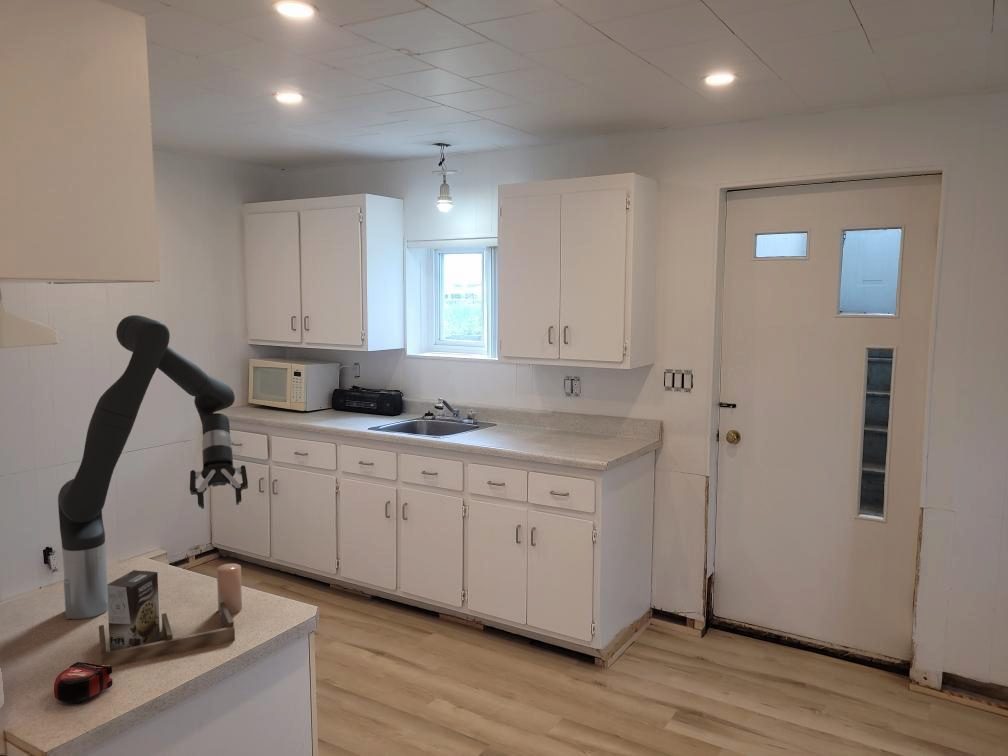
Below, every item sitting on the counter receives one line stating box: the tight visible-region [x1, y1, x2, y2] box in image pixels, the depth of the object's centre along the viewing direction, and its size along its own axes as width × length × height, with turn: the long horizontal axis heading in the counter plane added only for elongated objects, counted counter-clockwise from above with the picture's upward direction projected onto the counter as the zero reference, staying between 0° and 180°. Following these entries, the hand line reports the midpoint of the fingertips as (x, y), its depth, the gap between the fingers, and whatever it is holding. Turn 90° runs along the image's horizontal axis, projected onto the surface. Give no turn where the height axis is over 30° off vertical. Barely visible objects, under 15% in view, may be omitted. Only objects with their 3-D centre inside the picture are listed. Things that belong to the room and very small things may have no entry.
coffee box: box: [107, 569, 161, 652], centre depth 167 cm, size 9×6×16 cm
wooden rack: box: [98, 602, 236, 667], centre depth 170 cm, size 27×13×4 cm, turn 120°
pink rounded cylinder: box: [216, 563, 243, 615], centre depth 186 cm, size 6×6×11 cm
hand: (220, 505), depth 193 cm, fingers open, 8 cm apart
